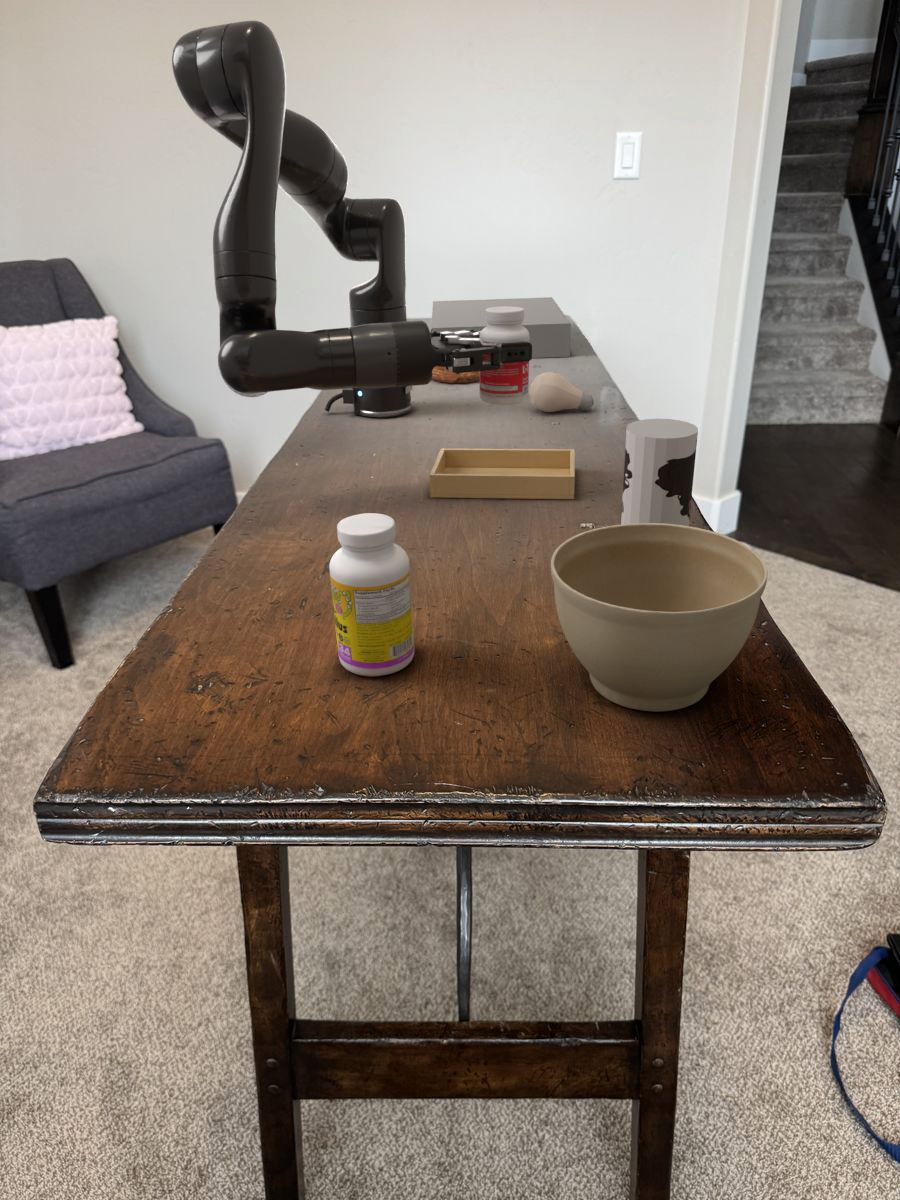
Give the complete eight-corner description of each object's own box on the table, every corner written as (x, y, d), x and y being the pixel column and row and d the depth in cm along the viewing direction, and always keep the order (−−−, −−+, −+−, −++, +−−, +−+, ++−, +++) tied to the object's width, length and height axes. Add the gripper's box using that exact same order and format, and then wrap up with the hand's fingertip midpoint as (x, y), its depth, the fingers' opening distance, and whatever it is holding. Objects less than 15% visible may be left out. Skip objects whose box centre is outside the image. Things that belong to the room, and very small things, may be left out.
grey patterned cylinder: (698, 572, 91) (713, 429, 84) (649, 589, 88) (661, 442, 81) (652, 551, 96) (662, 414, 90) (604, 566, 93) (611, 426, 86)
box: (569, 356, 186) (570, 322, 183) (432, 361, 186) (430, 326, 183) (551, 327, 217) (551, 297, 214) (433, 331, 218) (432, 301, 214)
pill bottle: (531, 405, 110) (533, 312, 105) (481, 407, 109) (481, 313, 104) (524, 392, 115) (526, 304, 110) (477, 394, 115) (477, 305, 110)
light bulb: (587, 430, 147) (524, 413, 146) (586, 412, 152) (524, 396, 151) (601, 394, 143) (535, 377, 142) (599, 377, 148) (535, 360, 147)
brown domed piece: (493, 370, 177) (492, 332, 174) (484, 384, 166) (483, 345, 163) (435, 370, 179) (434, 332, 176) (423, 384, 168) (421, 345, 165)
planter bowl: (542, 635, 81) (544, 523, 76) (722, 633, 80) (736, 520, 75) (555, 741, 66) (559, 611, 61) (775, 739, 65) (796, 608, 61)
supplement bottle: (340, 643, 80) (326, 510, 75) (413, 638, 81) (405, 505, 75) (337, 682, 74) (323, 541, 69) (416, 677, 75) (408, 536, 69)
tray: (430, 497, 113) (429, 475, 112) (441, 469, 123) (440, 448, 122) (574, 499, 111) (574, 476, 110) (574, 470, 121) (574, 449, 120)
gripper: (398, 333, 99) (542, 324, 102) (378, 313, 111) (506, 305, 114) (401, 400, 102) (540, 389, 105) (381, 373, 115) (506, 364, 118)
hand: (522, 345), depth 110 cm, fingers closed on pill bottle, 6 cm apart
